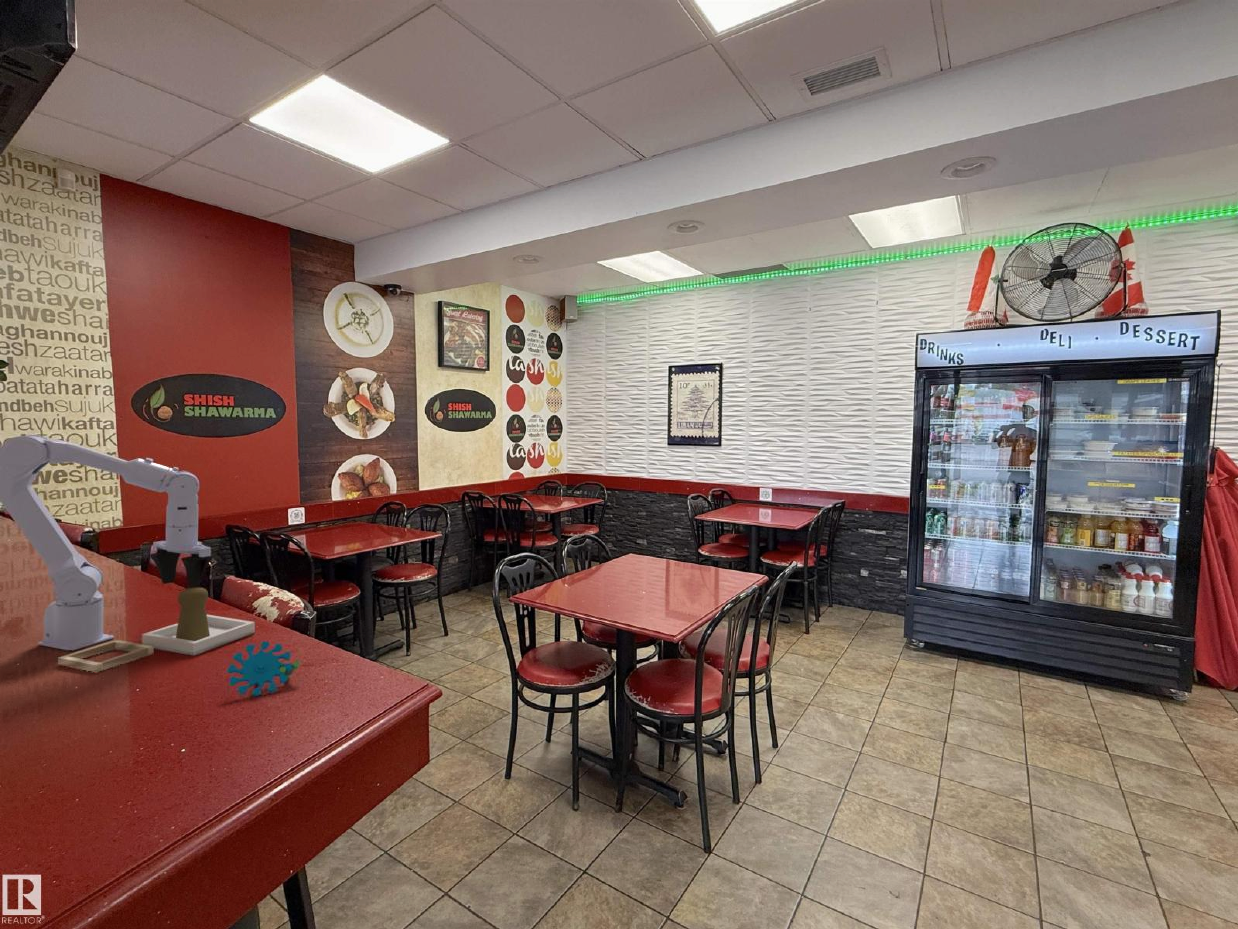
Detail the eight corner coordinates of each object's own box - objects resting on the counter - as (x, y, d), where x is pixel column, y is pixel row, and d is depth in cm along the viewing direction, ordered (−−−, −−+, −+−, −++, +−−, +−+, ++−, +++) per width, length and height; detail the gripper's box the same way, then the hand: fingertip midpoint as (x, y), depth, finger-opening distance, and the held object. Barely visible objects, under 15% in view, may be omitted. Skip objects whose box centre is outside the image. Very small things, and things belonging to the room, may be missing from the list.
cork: (192, 645, 116) (192, 593, 116) (167, 642, 117) (167, 591, 117) (217, 635, 122) (217, 586, 122) (193, 632, 123) (193, 583, 123)
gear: (221, 695, 94) (233, 639, 101) (220, 708, 98) (232, 654, 104) (296, 691, 100) (303, 639, 106) (292, 704, 103) (299, 653, 110)
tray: (141, 646, 116) (141, 634, 116) (206, 625, 130) (206, 614, 130) (193, 655, 113) (193, 643, 113) (254, 633, 126) (254, 622, 126)
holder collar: (57, 665, 106) (57, 657, 106) (116, 646, 115) (116, 639, 115) (96, 673, 103) (96, 665, 103) (153, 653, 113) (153, 646, 113)
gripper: (224, 526, 128) (222, 584, 128) (176, 520, 131) (174, 577, 132) (193, 530, 121) (192, 592, 121) (143, 524, 124) (142, 584, 125)
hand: (181, 584), depth 126 cm, fingers open, 7 cm apart
